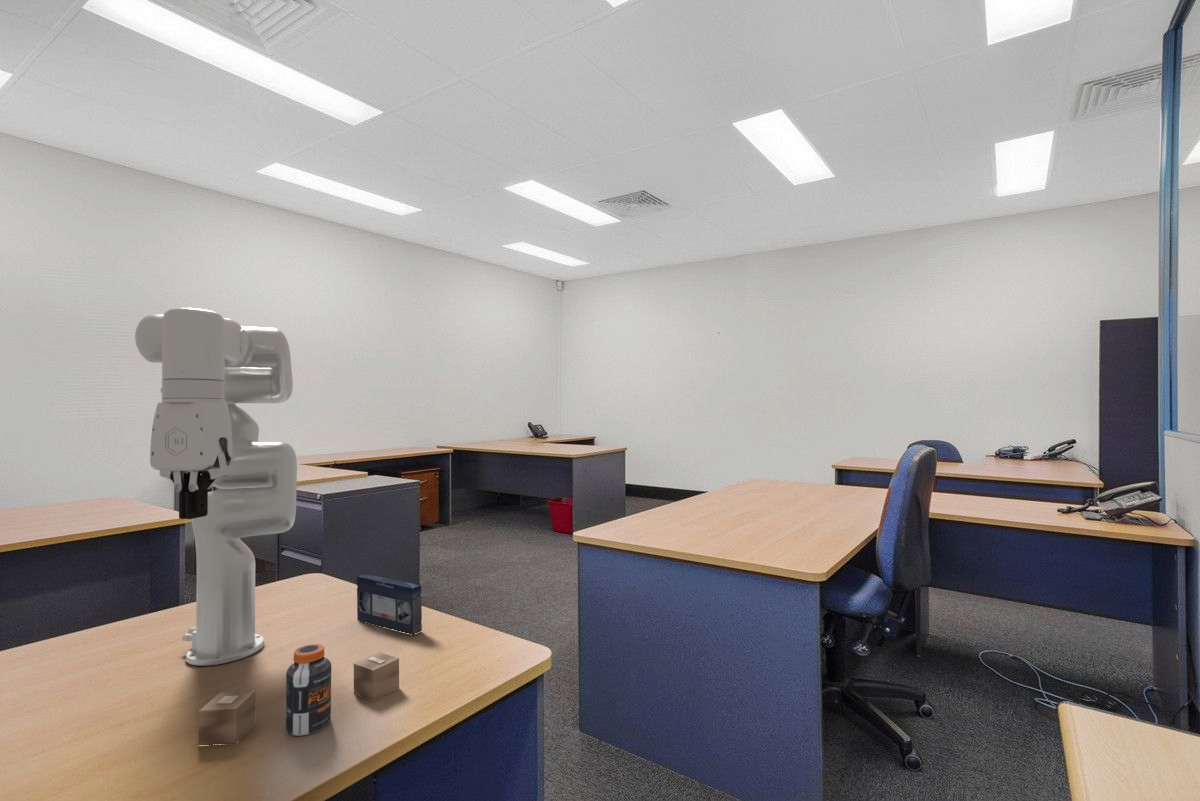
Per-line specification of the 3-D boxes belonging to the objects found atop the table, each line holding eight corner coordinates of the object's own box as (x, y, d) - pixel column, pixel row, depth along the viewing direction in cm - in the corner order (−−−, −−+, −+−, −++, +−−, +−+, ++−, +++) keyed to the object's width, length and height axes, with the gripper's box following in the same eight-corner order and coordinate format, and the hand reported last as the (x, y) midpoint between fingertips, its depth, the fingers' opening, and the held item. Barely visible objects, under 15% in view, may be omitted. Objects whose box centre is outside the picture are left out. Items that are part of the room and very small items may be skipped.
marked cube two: (353, 694, 90) (353, 662, 90) (379, 681, 95) (379, 651, 95) (373, 702, 88) (373, 669, 88) (399, 688, 92) (399, 657, 92)
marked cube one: (198, 747, 76) (198, 709, 76) (219, 726, 81) (220, 691, 81) (236, 744, 77) (236, 707, 77) (255, 724, 82) (255, 689, 82)
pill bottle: (311, 739, 78) (311, 658, 78) (275, 735, 79) (275, 655, 79) (339, 716, 84) (339, 641, 84) (305, 712, 85) (305, 638, 85)
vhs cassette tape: (356, 620, 123) (356, 576, 123) (368, 616, 125) (367, 572, 126) (411, 637, 113) (410, 589, 113) (422, 632, 116) (422, 585, 116)
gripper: (126, 393, 79) (125, 521, 79) (215, 391, 76) (214, 523, 76) (175, 394, 86) (174, 511, 86) (258, 393, 84) (257, 513, 83)
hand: (193, 517), depth 81 cm, fingers closed
